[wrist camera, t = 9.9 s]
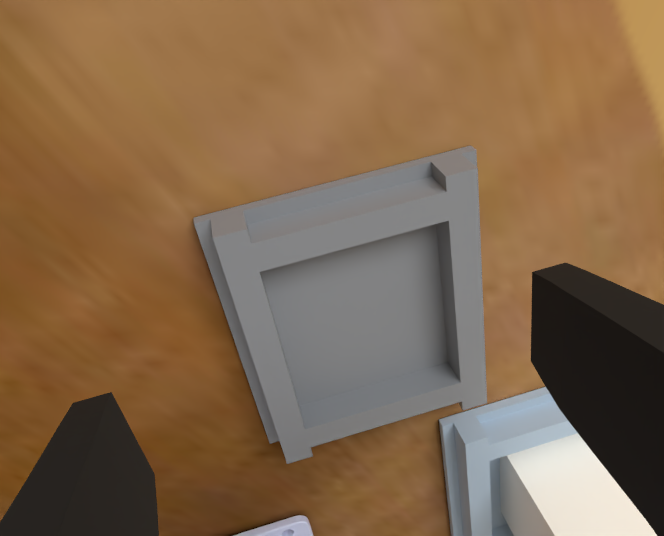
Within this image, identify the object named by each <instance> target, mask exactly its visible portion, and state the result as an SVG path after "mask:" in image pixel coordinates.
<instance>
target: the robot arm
mask: <svg viewBox="0 0 664 536" xmlns="http://www.w3.org/2000/svg"><path fill="white" fill-rule="evenodd" d="M531 362H532V363H533V365H534V367H535V369H536V370H537V372H538V374H539V376H540V377H541V379H542V381H543V383H544V384H545V386H546V388H547V390H548V391H549V393H550V394H551V396H552V398H553V399H554V401H555V403H556V404H557V406H558V407H559V409H560V410H561V412H562V413H563V414H564V416H565V417H566V418H567V420H568V421H569V422H570V424H571V425H572V426H573V428H574V429H575V430H576V431H577V433H578V434H579V435H580V437H581V438H582V439H583V440H584V442H585V443H586V444H587V446H588V447H589V448H590V449H591V451H592V452H593V453H594V454H595V456H596V457H597V458H598V460H599V461H600V462H601V463H602V465H603V466H604V467H605V468H606V470H607V471H608V472H609V474H610V475H611V476H612V477H613V479H614V480H615V481H616V482H617V484H618V485H619V486H620V487H621V489H622V490H623V491H624V493H625V494H626V495H627V496H628V498H629V499H630V500H631V501H632V503H633V504H634V505H635V507H636V508H637V509H638V510H639V512H640V513H641V514H642V515H643V517H644V518H645V519H646V521H647V522H648V523H649V525H650V526H651V528H652V529H653V530H654V532H655V533H656V534H657V536H664V305H663V304H660V303H658V302H656V301H654V300H651V299H649V298H647V297H644V296H642V295H640V294H638V293H635V292H633V291H631V290H629V289H626V288H624V287H622V286H620V285H617V284H615V283H613V282H611V281H608V280H606V279H604V278H602V277H599V276H597V275H595V274H592V273H590V272H588V271H585V270H583V269H581V268H578V267H576V266H573V265H570V264H568V263H563V264H559V265H556V266H552V267H549V268H545V269H541V270H538V271H534V272H532V327H531ZM0 536H159V531H158V514H157V500H156V488H155V475H154V472H153V470H152V468H151V467H150V465H149V463H148V461H147V459H146V457H145V455H144V453H143V451H142V449H141V448H140V446H139V444H138V442H137V440H136V438H135V436H134V434H133V432H132V431H131V429H130V427H129V425H128V423H127V421H126V419H125V417H124V415H123V413H122V412H121V410H120V408H119V406H118V404H117V402H116V400H115V398H114V396H113V395H112V393H111V392H110V393H107V394H103V395H100V396H96V397H93V398H89V399H86V400H82V401H79V402H75V403H73V404H72V406H71V407H70V409H69V410H68V412H67V414H66V415H65V417H64V419H63V420H62V422H61V423H60V425H59V427H58V428H57V430H56V432H55V433H54V435H53V437H52V438H51V440H50V442H49V443H48V445H47V447H46V448H45V450H44V452H43V453H42V455H41V457H40V458H39V460H38V462H37V463H36V465H35V467H34V468H33V470H32V472H31V473H30V475H29V477H28V478H27V480H26V482H25V483H24V485H23V487H22V488H21V490H20V491H19V493H18V495H17V496H16V498H15V499H14V501H13V503H12V504H11V506H10V507H9V509H8V511H7V512H6V514H5V515H4V517H3V519H2V520H1V522H0ZM233 536H314V535H313V532H312V529H311V526H310V523H309V520H308V518H307V517H305V516H303V515H297V516H293V517H290V518H287V519H284V520H281V521H277V522H274V523H271V524H268V525H265V526H262V527H258V528H255V529H252V530H249V531H246V532H242V533H239V534H236V535H233Z"/></svg>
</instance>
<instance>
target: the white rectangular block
mask: <svg viewBox="0 0 664 536" xmlns="http://www.w3.org/2000/svg"><path fill="white" fill-rule="evenodd" d="M500 504H501V513H502V515H503V516H504V518H505V520H506V522H507V524H508V526H509V528H510V529H511V531H512V533H513V535H514V536H657V534H656V533H655V532H654V530H653V529H652V528H651V526H650V525H649V523H648V522H647V521H646V519H645V518H644V517H643V515H642V514H641V513H640V512H639V510H638V509H637V508H636V507H635V505H634V504H633V503H632V501H631V500H630V499H629V498H628V496H627V495H626V494H625V493H624V491H623V490H622V489H621V487H620V486H619V485H618V484H617V482H616V481H615V480H614V479H613V477H612V476H611V475H610V474H609V472H608V471H607V470H606V468H605V467H604V466H603V465H602V463H601V462H600V461H599V460H598V458H597V457H596V456H595V454H594V453H593V452H592V451H591V449H590V448H589V447H588V446H587V444H586V443H585V442H584V440H583V439H582V438H581V437H580V435H579V434H578V433H576V434H573V435H570V436H567V437H564V438H561V439H557V440H554V441H551V442H548V443H545V444H542V445H538V446H535V447H532V448H529V449H526V450H523V451H519V452H516V453H513V454H510V455H507V456H504V457H500Z"/></svg>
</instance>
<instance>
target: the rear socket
mask: <svg viewBox="0 0 664 536" xmlns="http://www.w3.org/2000/svg"><path fill="white" fill-rule="evenodd" d="M439 425H440V435H441V444H442V454H443V463H444V473H445V482H446V491H447V501H448V510H449V520H450V529H451V536H514V535H513V533H512V531H511V529H510V528H509V526H508V524H507V522H506V520H505V518H504V516H503V515H502V513H501V504H500V457H504V456H507V455H510V454H513V453H516V452H519V451H523V450H526V449H529V448H532V447H535V446H538V445H542V444H545V443H548V442H551V441H554V440H557V439H561V438H564V437H567V436H570V435H573V434H576V433H577V431H576V430H575V429H574V428H573V426H572V425H571V424H570V422H569V421H568V420H567V418H566V417H565V416H564V414H563V413H562V412H561V410H560V409H559V407H558V406H557V404H556V403H555V401H554V399H553V398H552V396H551V394H550V393H549V391H548V390H547V388H546V387H543V388H540V389H537V390H534V391H530V392H527V393H524V394H521V395H517V396H514V397H511V398H507V399H504V400H501V401H498V402H494V403H491V404H488V405H485V406H481V407H478V408H475V409H471V410H468V411H465V412H462V413H458V414H455V415H452V416H449V417H445V418H442V419H439Z"/></svg>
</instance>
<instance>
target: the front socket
mask: <svg viewBox="0 0 664 536" xmlns="http://www.w3.org/2000/svg"><path fill="white" fill-rule="evenodd" d="M194 225H195V228H196V231H197V234H198V237H199V240H200V243H201V246H202V248H203V251H204V254H205V257H206V260H207V263H208V266H209V269H210V272H211V275H212V277H213V280H214V283H215V286H216V289H217V292H218V295H219V298H220V301H221V304H222V306H223V309H224V312H225V315H226V318H227V321H228V324H229V327H230V330H231V333H232V335H233V338H234V341H235V344H236V347H237V350H238V353H239V356H240V359H241V362H242V364H243V367H244V370H245V373H246V376H247V379H248V382H249V385H250V388H251V390H252V393H253V396H254V399H255V402H256V405H257V408H258V411H259V414H260V417H261V419H262V422H263V425H264V428H265V431H266V434H267V437H268V440H269V443H270V444H271V443H274V442H277V441H280V444H281V447H282V450H283V453H284V456H285V459H286V462H287V464H289V463H292V462H295V461H299V460H302V459H305V458H309V457H312V456H313V454H312V450H311V447H314V446H317V445H320V444H323V443H327V442H330V441H333V440H337V439H340V438H343V437H346V436H350V435H353V434H356V433H360V432H363V431H366V430H370V429H373V428H376V427H379V426H383V425H386V424H389V423H393V422H396V421H399V420H402V419H406V418H409V417H412V416H416V415H419V414H422V413H425V412H429V411H432V410H435V409H439V408H442V407H445V406H448V405H452V404H455V403H459V405H460V406H461V408H462V410H466V409H469V408H472V407H475V406H479V405H482V404H485V403H487V390H486V366H485V341H484V316H483V291H482V266H481V242H480V217H479V192H478V168H477V157H476V149H475V148H473V147H472V146H467V147H463V148H459V149H456V150H452V151H448V152H444V153H440V154H436V155H433V156H429V157H425V158H421V159H417V160H413V161H410V162H406V163H402V164H398V165H394V166H390V167H386V168H383V169H379V170H375V171H371V172H367V173H363V174H360V175H356V176H352V177H348V178H344V179H340V180H337V181H333V182H329V183H325V184H321V185H317V186H314V187H310V188H306V189H302V190H298V191H294V192H291V193H287V194H283V195H279V196H275V197H271V198H268V199H264V200H260V201H256V202H252V203H248V204H245V205H241V206H237V207H233V208H229V209H225V210H221V211H218V212H214V213H210V214H206V215H202V216H198V217H195V218H194Z"/></svg>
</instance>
